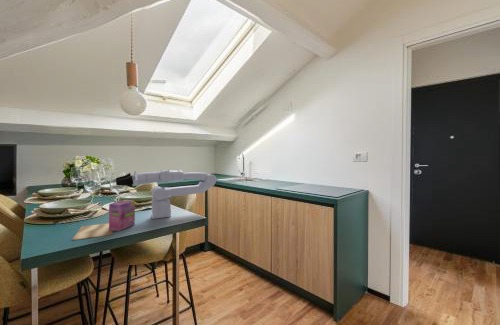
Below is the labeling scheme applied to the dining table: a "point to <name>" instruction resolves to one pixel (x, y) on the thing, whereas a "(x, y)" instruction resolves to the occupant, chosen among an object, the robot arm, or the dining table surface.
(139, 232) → the dining table surface
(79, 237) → the wooden board
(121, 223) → the box
